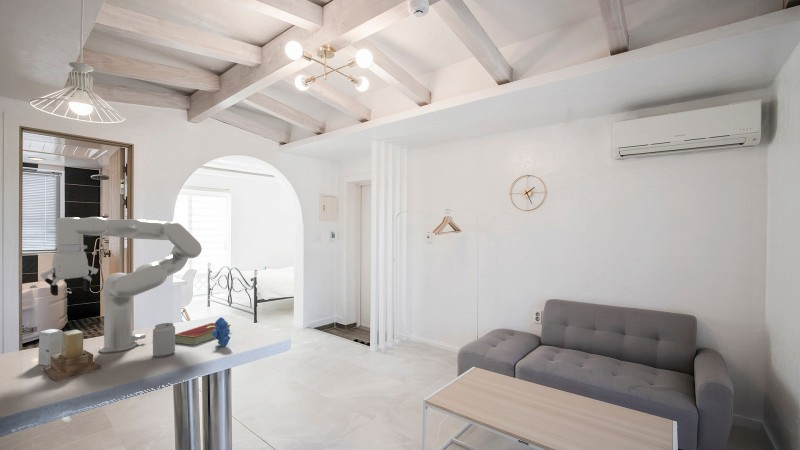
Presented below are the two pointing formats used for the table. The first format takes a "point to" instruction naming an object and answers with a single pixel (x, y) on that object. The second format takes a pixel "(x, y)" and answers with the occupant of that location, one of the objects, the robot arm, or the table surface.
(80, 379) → the table surface
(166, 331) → the can
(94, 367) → the slotted stand
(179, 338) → the hardcover book
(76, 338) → the skincare box
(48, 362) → the skincare box
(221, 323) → the grapes
